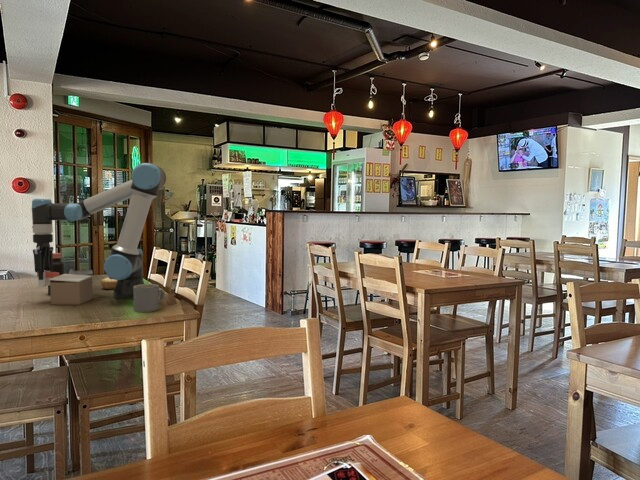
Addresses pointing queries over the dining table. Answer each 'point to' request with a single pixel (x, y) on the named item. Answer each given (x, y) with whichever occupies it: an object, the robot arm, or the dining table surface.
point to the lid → (65, 277)
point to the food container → (81, 272)
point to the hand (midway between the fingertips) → (44, 285)
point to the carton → (71, 292)
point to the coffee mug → (147, 297)
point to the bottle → (56, 267)
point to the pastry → (108, 283)
